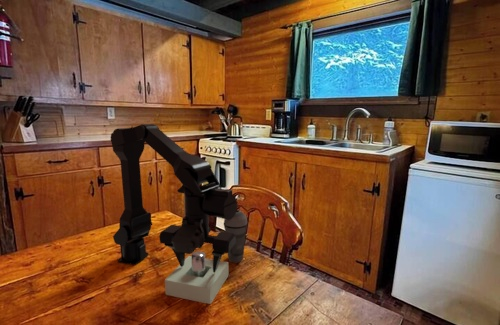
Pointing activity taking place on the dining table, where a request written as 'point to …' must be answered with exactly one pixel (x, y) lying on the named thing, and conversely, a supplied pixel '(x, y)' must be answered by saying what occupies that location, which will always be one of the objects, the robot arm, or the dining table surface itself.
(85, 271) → the dining table surface
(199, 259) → the peg
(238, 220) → the beverage cup
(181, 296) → the socket block
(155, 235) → the dining table surface
